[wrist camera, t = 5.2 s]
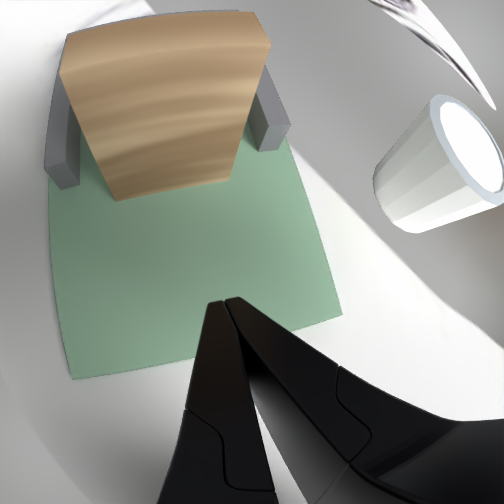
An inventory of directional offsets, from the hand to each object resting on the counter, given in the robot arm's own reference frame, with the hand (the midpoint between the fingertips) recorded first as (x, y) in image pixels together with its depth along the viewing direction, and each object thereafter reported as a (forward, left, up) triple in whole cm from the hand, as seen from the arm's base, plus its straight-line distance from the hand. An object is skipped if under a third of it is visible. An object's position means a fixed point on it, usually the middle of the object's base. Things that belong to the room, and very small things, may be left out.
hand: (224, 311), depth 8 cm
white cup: (-6, -14, -7) cm, 17 cm away
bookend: (+10, -7, -6) cm, 14 cm away
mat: (+7, -6, -7) cm, 12 cm away
